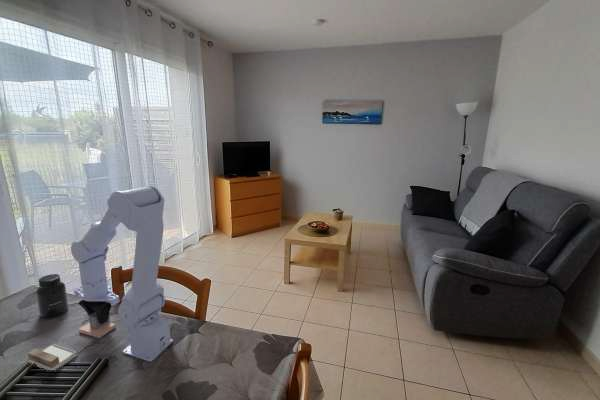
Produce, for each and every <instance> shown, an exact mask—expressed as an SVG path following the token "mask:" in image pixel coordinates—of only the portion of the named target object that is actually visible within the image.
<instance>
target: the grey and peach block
mask: <svg viewBox="0 0 600 400" xmlns="http://www.w3.org/2000/svg"><path fill="white" fill-rule="evenodd" d="M88 320H89V321H88V322H87V323H86V324H84V325H83V326H81V327H79V328H78V332H79V333H82V334H84V335H87V336H91V337H94V338H96V339H101V338H102V337H104V336H105V335H106V334H108V333H109V332H111V331H112V330H113V329H115V328H116V323H113V322H111V320H110V316H109V317H108V321H106V322H105V323H103V324H100V323H99V321H98V318H97V314H96V312H94V313H92V314H91V315H89V316H88Z"/></svg>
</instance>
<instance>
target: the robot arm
mask: <svg viewBox="0 0 600 400" xmlns="http://www.w3.org/2000/svg"><path fill="white" fill-rule="evenodd" d="M106 202H107V207H108V208H107V210H106V212H105V213H104V216H103V217H102V219H101V220H100V221H96V222H92V223H91V224H90V227H89V229H88V231H87V232H86V233H84V234H85V235H83V237H82V239H80V240H77V241H75V240H74V241H73V242H72V244H71V245H70V252H71V255H72V257H73V259H74V260H75V261H76V262H78V268H79V275H80V283H81V286H79V287H76V288H74V289H73V293H74V296H76V297H78V296H80V298H81V299H82V300H80V301H79V302H78V305H79V306H81V308H83V310H84V311H85V312H86V314H87V316H88V317H89V315H91V314H92V313H94V312H96V314H97V318H98V321H99V323H100V324H103V323H105V322H106V321H108V317H109V318H110V312H111V309H112V307H113V306H116V305H118V304H119V303H120V302H121V303H120V304H119V306H118V307H117V316H118V320H119V321H120V322H121V323H122V324H123V325H124V326H125V327H128V337H129V343H130V344H129V345H128V346H126V348H124V349H123V350H122V353H123V354H124V355H129V356H131V357H133V358H137V359H141V360H144V361H147V362H150V363H151V362H153V361H154V360H155V359H156V358H157V357H158V356H159V355H160V354H161V353H162V352H163V351H165V349H166V348H168V346H170V345H171V344H172V343H173V341H174V339H173V338H171V328H170V322H169V321H168V320H165V319H164V318H163V317H162V316H161V315H160V313H161V312H162V308H163V307H164V306H165V304H166V298H165V294H164V292H165V290H164V289H165V287H163V285H161V284H160V283H159V282H158V281H157V280H158V273H159V266H160V258H161V252H162V251H161V250H162V245H163V244H162V243H163V236H164V219H163V218H164V217H163V216H164V207H165V206H164V205H165V198H164V196H163V195H162V193H161V192H160V190H159V189H158V188H157V187H155V186H153V185H147V186H144V187H143V186H142V187H139V188H132V189H126V190H115V191H113V192H112V193H111V194H110V196H109V198H108V199H107V200H106ZM120 224H122V225H123V226H124V227H126V228H127V229H128V231H133V232H135V233H136V239H135V246H134V248H135V249H134V258H133V259H134V260H133V268H132V269H133V270H132V278H131V280H132V281H131V287H130V288H129V290H127V291H126V293H125V294H124V295H123V296H122V298H121V301H120V296H119V295H117V294H115V293H114V292H113V291H112V290H111V289H112V286H110V285H109V284H108V278H107V269H106V262H105V261H107V254H108V252H109V246H108V245H109V244H110V243H111V242H112V241H113V239H114V238H115V237H116V235H117V229H116V228H117V227H118V226H119V225H120Z"/></svg>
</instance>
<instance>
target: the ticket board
mask: <svg viewBox="0 0 600 400" xmlns="http://www.w3.org/2000/svg"><path fill="white" fill-rule="evenodd" d="M27 356H28V362H30V363H36V365H37V366H36V367H38V368H40V369H42V368H44V369H43V370H45V369H49V370H54V369H57V368H58V369H60V368H61V367H63V366H64V365H66V364H67V363H68V362H70V361H71V360H73V359H74V358H75V357H77V351H75V350H73V349H71V348H70V349H69V348H67V347H63V346H61V345H58V344H55V343H53V344H52V345H50V346H48V347H45V349H43V350H40V349H37V348H34V349H32V350H31V351H29V352H27ZM30 363H29V364H30ZM59 367H60V368H59ZM58 369H57V370H58Z"/></svg>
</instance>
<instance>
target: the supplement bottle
mask: <svg viewBox="0 0 600 400" xmlns="http://www.w3.org/2000/svg"><path fill="white" fill-rule="evenodd" d="M67 294H68V293H67V287H66V284H65V283H64V282H63V281H61V276H60V275H59V273H54V274H53V273H51V274H47V275H44V276H41V277H40V278H39V279H38V288H36V291H35V296H36V301H37V306H38V307H37V308H38V313H39V316H40V317H41V318H43V319H50V318H51V319H53V318H55V317H58V316H61V315H63V314H65V313H66V311H68V309H69V303H68V301H69V300H68V295H67Z"/></svg>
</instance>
